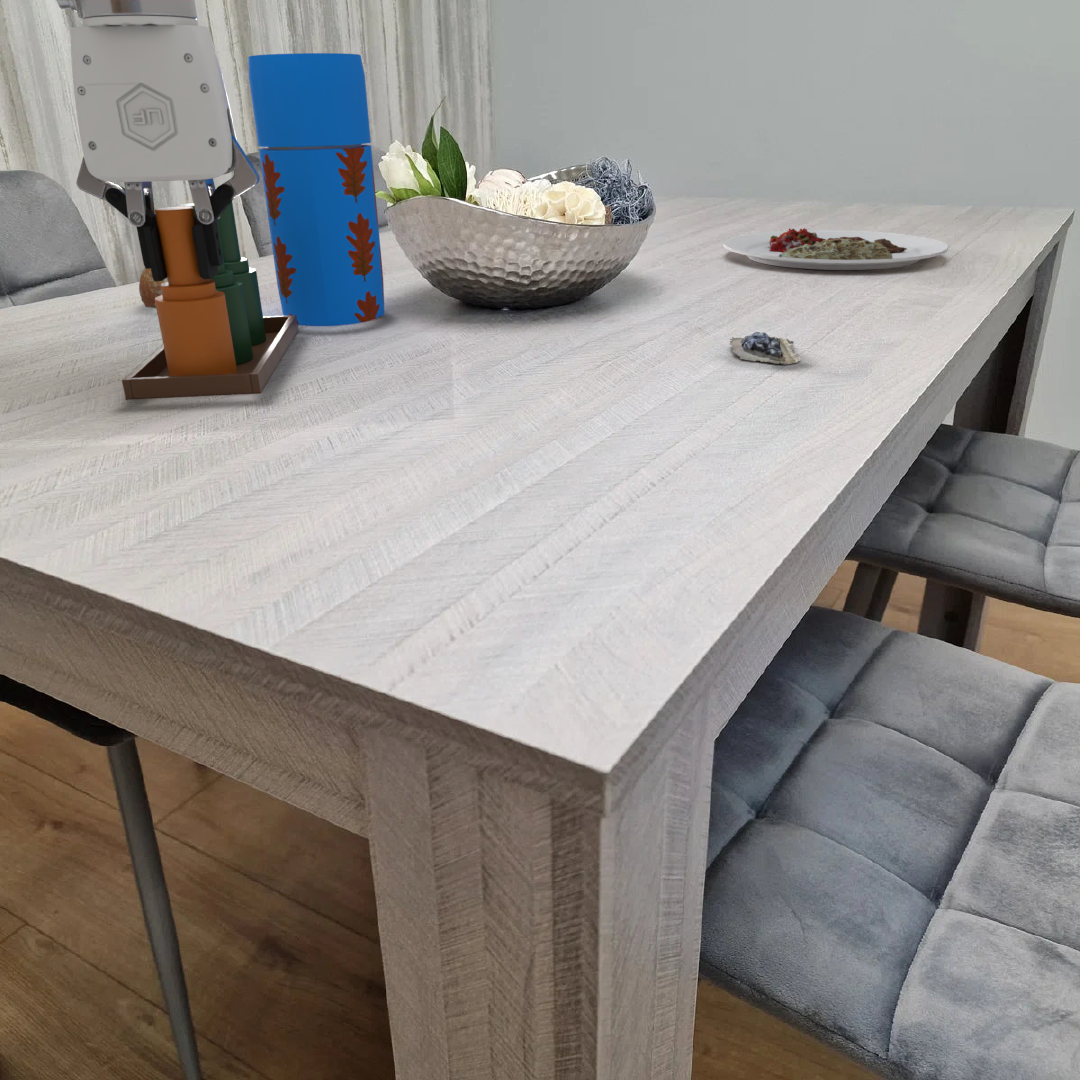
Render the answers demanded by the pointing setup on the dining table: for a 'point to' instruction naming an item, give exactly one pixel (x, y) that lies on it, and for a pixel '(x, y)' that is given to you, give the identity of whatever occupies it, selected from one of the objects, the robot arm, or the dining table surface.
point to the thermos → (319, 185)
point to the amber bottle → (190, 303)
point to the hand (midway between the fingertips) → (186, 275)
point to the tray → (248, 380)
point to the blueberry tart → (765, 349)
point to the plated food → (835, 249)
